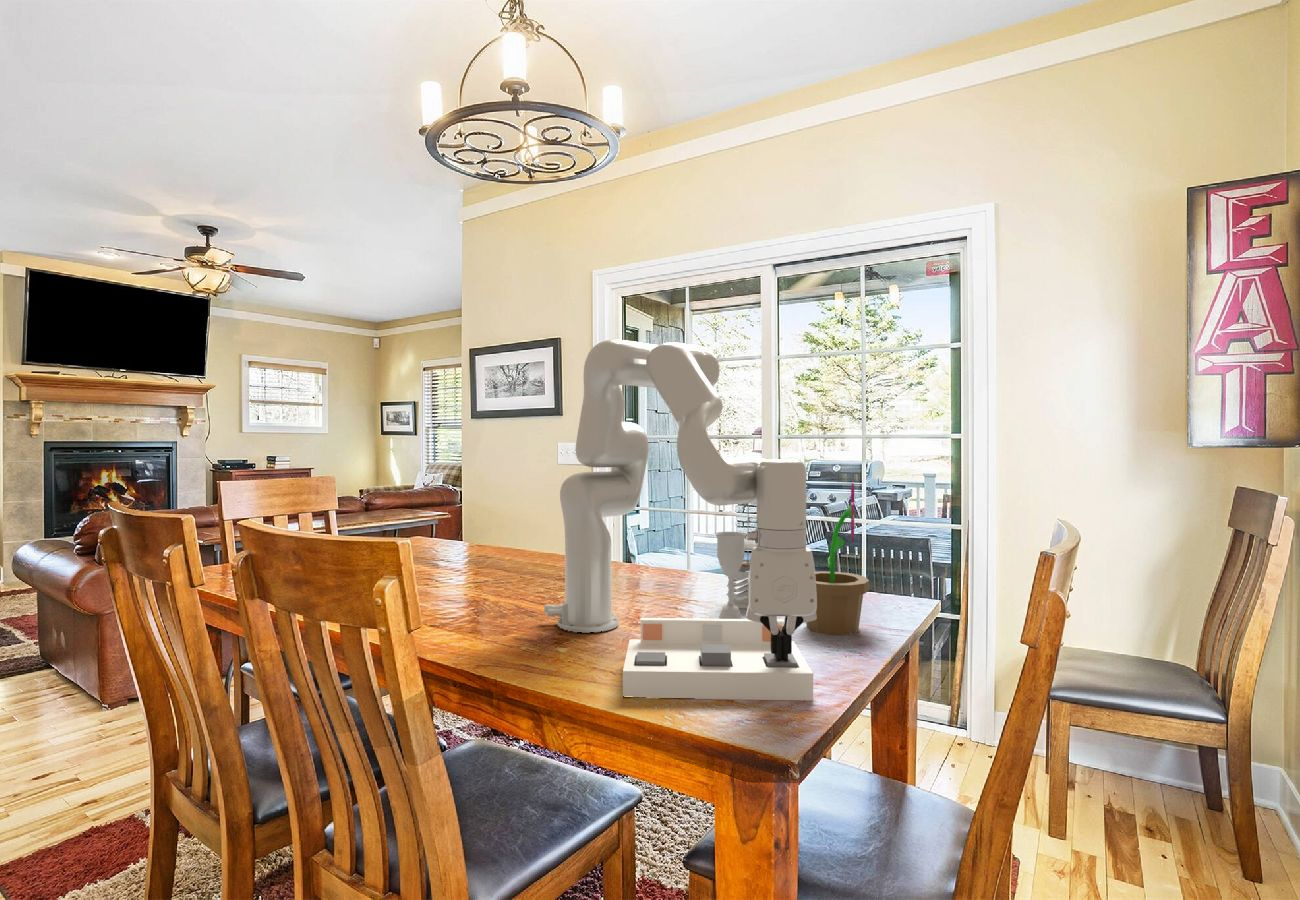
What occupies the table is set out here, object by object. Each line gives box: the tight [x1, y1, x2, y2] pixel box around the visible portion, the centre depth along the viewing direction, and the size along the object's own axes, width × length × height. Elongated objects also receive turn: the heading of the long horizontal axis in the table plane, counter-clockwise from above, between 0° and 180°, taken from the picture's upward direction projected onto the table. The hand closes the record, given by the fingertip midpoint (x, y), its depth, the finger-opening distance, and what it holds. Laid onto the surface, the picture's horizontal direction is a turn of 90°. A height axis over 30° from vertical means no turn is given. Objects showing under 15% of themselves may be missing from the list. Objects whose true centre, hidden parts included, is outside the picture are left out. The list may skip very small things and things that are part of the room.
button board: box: [622, 617, 814, 702], centre depth 107 cm, size 28×16×8 cm, turn 88°
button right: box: [764, 653, 797, 668], centre depth 103 cm, size 4×4×3 cm
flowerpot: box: [805, 481, 870, 636], centre depth 137 cm, size 14×14×30 cm
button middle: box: [701, 644, 731, 667], centre depth 104 cm, size 4×4×3 cm
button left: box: [636, 652, 665, 666], centre depth 104 cm, size 4×4×3 cm
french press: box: [726, 503, 757, 610], centre depth 157 cm, size 10×12×25 cm
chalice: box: [714, 531, 747, 619], centre depth 145 cm, size 7×7×18 cm
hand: (781, 658), depth 103 cm, fingers closed
